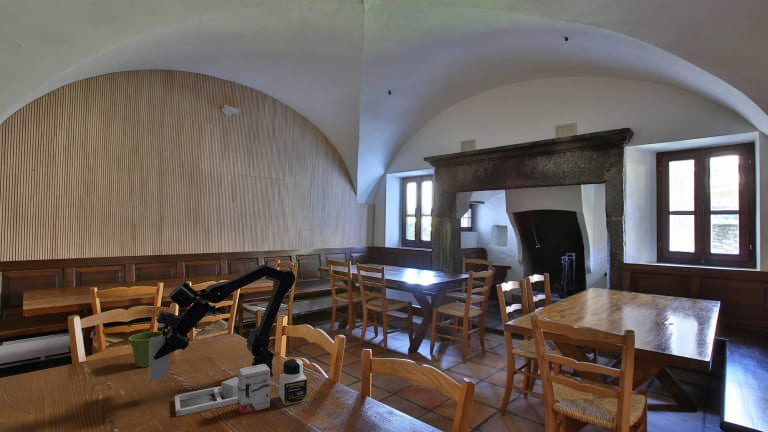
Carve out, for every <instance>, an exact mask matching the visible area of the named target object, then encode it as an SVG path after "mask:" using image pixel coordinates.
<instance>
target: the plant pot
mask: <svg viewBox="0 0 768 432" xmlns="http://www.w3.org/2000/svg"><path fill="white" fill-rule="evenodd" d="M159 336H162V331H157V330H156V331H145V332H139V333H136V334H133V335H130V336H129V337H128V340H129V342H130V346H131V348H132V354H133V357H134V362H135V367H137V368H139V367H140V368H146V367H147V368H149V338H153V337H159Z"/></svg>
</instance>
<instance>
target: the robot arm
mask: <svg viewBox="0 0 768 432" xmlns="http://www.w3.org/2000/svg"><path fill="white" fill-rule="evenodd" d="M265 277H268V278H271V279H273V283H272V293H271V294H270V297H269V300H268V302H267V304H266V307H265V310H264V313H263V314H262V317H261V320H260V321H259V322H260V323H259V324H258V327H257V328H256V330H255V331H251V330H250V332H249V336H248V338H247V340H246V341H245V342H246V349H247V351H248V352H249V353H250V354H251V355H252V356H253V358H252V362H251V364H250V365H251V366H256V365H261V364H266V365H267V366H268V367H269V368H270V377H273V376H274V372H273V359H274V356H275V354H274V353H273V352H272V351H271V350H270V349H269V346H270V335H271V330H272V327H273V326H274V323H275V320H276V318H277V316H278V313H279V310H280V308H281V306H282V303H283V301H284V298H285V296H286V294H287V293H288V292H290V290H291V289H292V287H293V285H294V284H295V281H296V279H297V278H296V276H295V273H294V272H293V271H290V270H288V269H276V268H274V267H272V266H270V265H268V264H265V263H264V264H260V265H259V266H257V267H254V268H253V269H251V270H249V271H246V272H244V273H242V274H240V275H238V276H234V277H233V278H231V279H229V280H224V281H219V282H216V283H212V284H209V285H208V286H206V287H205V288H203V289H202V288H201V289H198V290H197V289H196V290H195V289H194V288H193V287H191V286H190V285H189V283H187V281H183V282H182V283H181V284H180V285H178V286H176V287H175V288H173V290H172V291H171V292H170V293H169V295H168V296H167V297H168V299H170V300H171V301H172V302H173V303H175V304H176V305H178V307H180V309H184V308H187V309H186V310H185V311H184V312H183V311H182V312H180V313H179V314H178V315H177V314H174V312H169V311H164V310H160V311H159V313H158V315H157V317H156V319H155V322H156V323H158V324H160V325H161V324H162V328H161V332H162V336H165V342H164V344H163V345H162V346H161V348H160V349H159V350H158V352H157V353H156V355H155V356H154V357H153V358H154V359H155V360H157V359H159V358H161V357H163V356H165V355H167V354H171V353H174V352H176V351H178V350H183V351H185V350H186V349H187V348H188V346H189V340H188V337H189V334H190V333H191V332H192V330H193V329H197V328H198V326H199V325H198V324H199V323H200V322H201V321H202V320H203V319H204V318H205V317H206V316H207V315H208V313H209V312H210V313H211V314H213V315H214V316H215V315H216V314H217V312H216V308H217V306H216V305H214V304H219V303H222V302H223V301H225V299H227V298H229V297H230V296H231V295H232V294H233V293H235V292H236V291H237V290H238V291H239V290H241V289H242V288H243V287H246V286H249V285H250V284H252V283H254V282H257V281H259V280H261V279H262V278H263V279H264V278H265ZM197 297H198V298H197ZM199 299H201V300H202V301H201V300H199ZM208 301H209V302H210V303H211V304H210V303H209V302H208ZM212 304H213V305H212ZM166 335H167V336H166ZM251 366H250V367H251Z"/></svg>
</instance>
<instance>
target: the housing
mask: <svg viewBox="0 0 768 432" xmlns="http://www.w3.org/2000/svg"><path fill="white" fill-rule="evenodd" d="M220 393H221V386H214V387H209V388H206V389H205V388H204V389H200V390H196V391H189V392H184V393H179V394H175V395H174V406H175V407H174V409H175V416H176V418H177V417H180V416H185V415H186V416H187V415H190V414H195V413H199V412H203V411H208V410H213V409H219V408H221V407H226V406H231V405H235V404H238V397H233V398H229V399H225V398H222V397H221V394H220ZM212 395H213V396H212ZM181 401H182V403H181Z"/></svg>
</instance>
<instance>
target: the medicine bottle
mask: <svg viewBox="0 0 768 432" xmlns="http://www.w3.org/2000/svg"><path fill="white" fill-rule="evenodd" d="M303 365H304V362H303V361H302V359H298V358H290V359H287V360H285V361H284V362H283V367H282V369H283V371H282V372H283V373H280V374H279V377H278V378H279V382H278V383H279V385H278V386H279V389H278V390H279V392H278V393H279V396H278V397H279V398H280V400H281V402H282V404H283V405H284V406H288V405H293V404H298V403H302V402H306V401H307V400H308V399H307V398H308V393H307V392H308V378H307V377H306V376H305V374H304V371H303V370H304V369H303V368H304V367H303Z"/></svg>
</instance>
